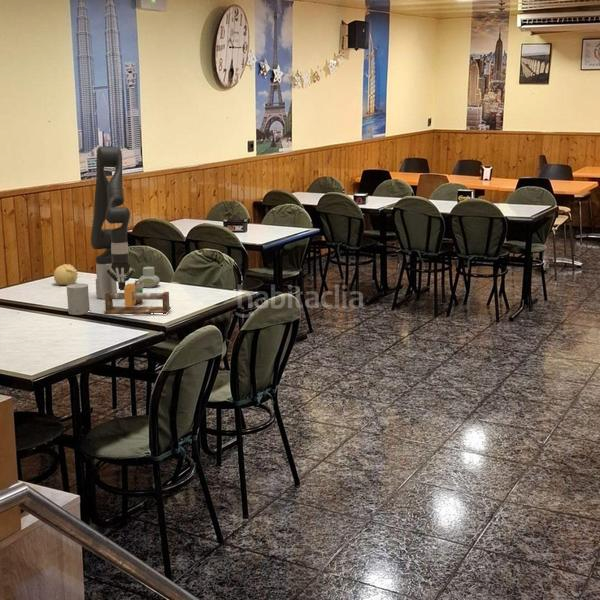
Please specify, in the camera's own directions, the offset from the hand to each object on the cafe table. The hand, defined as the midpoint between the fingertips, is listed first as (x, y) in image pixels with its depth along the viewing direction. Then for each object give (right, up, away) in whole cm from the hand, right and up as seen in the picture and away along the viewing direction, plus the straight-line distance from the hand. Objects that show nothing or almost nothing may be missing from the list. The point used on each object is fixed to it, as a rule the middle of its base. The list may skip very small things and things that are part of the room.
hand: (122, 290), depth 387 cm
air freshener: (+2, +2, +56) cm, 56 cm away
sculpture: (-42, +3, +63) cm, 76 cm away
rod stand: (+7, -10, +2) cm, 12 cm away
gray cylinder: (-20, -10, +4) cm, 23 cm away
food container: (+4, -6, +19) cm, 20 cm away
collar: (+4, -7, +1) cm, 8 cm away
